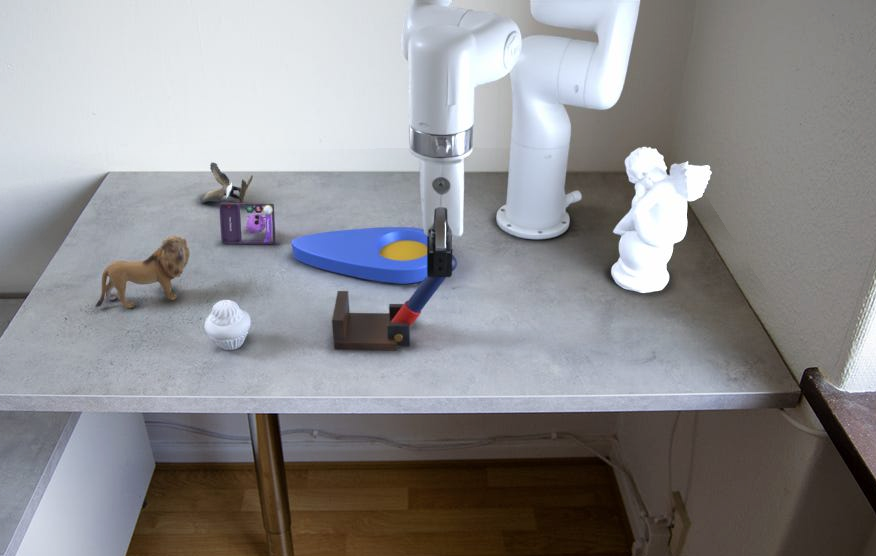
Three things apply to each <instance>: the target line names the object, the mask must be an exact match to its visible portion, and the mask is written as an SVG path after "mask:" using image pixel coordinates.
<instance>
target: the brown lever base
mask: <svg viewBox="0 0 876 556" xmlns="http://www.w3.org/2000/svg"><path fill="white" fill-rule="evenodd" d="M349 296H350V295H349V291H348V290H337V292H336V297H335V302H334V307H333V311H332V312H333V313H332V317H331V325H332V326H331V327H332V338H333V348H334V350H343V351H345V350H346V351H352V350H353V351H397V347H411V346H410V345H411V329H410V328H411V327H410V323H392V319H393V318H394V317H395V315H396V314H397V313H398V311H399V310H400V309H401V307H402V306H403V305H404V303H389V304H388V313H387V312H386V313H385V312H350V297H349Z"/></svg>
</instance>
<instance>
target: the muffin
mask: <svg viewBox="0 0 876 556" xmlns="http://www.w3.org/2000/svg"><path fill="white" fill-rule="evenodd" d="M251 319H252V318H251V316H250V314H249V313H248V312H247V311H246V310H244V309H241V308H240V306H239V304H238V303H237V302H235V301H234V300H231V299H222V300H219V301H217V302H216V303H214V305H213V306H212V309H211V313H210V314H209V315H208V316H207V318H206V319H205V322H204V330H205V333H207V335H208V337H209V338H210V339H211V340H212V341H213V342H214V343H215V344H216V345H217V346H218V347H219V348H221V349H222V350H225V351H234V350H237V349H239V348H240V347H242V346H243V344H244V342H245V341H246V338H247V336H248V334H249V332H250V327H251V324H252V320H251Z"/></svg>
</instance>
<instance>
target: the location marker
mask: <svg viewBox="0 0 876 556" xmlns="http://www.w3.org/2000/svg"><path fill="white" fill-rule="evenodd" d="M291 248H292V255H293V258H294V259H296V260H297V261H298V262H301V263H302V264H305V265H307V266H310V267H313V268H317V269H319V270H320V269H321V270H324V271H327V272H331V273H336V274H340V275H345V276H349V277H353V278H358V279H362V280H368V281H373V282H374V281H375V282H379V283H380V282H381V283H388V284H400V285H401V284H402V285H403V284H414V283H415V284H416V283H421V282H423V280H424V279H425V277H426V276H427V235H425V234H424V228H420V227H414V226H412V227H411V226H384V227H383V226H382V227H381V226H380V227H366V228H365V227H364V228H354V229H341V230H331V231H323V232H316V233H311V234H306V235H301V236H298V237H296V238H293V239H292V241H291Z"/></svg>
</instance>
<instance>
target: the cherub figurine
mask: <svg viewBox="0 0 876 556" xmlns="http://www.w3.org/2000/svg"><path fill="white" fill-rule="evenodd" d="M624 166H625V172H626V175H627V177H628V181H629V182H630V183H632V184H634V190H635V195H634V197H633V198H632V200H631V208H630V209H629V211H628V212H627V213H626V214H625V215H624V216H623V217H622V218H621V219H620V221H619V222H618V223H617V224H615V227H614V229H613V230H612V233H614V234H615V235H618V236H621V237H620V240H619V242H618V252H619V257H618V260H617V261H616V262H615V263H614V264H613V265H612V266H611V269H610V274H611V277H612V279H613V280H614V282H615V283H616V284H617V285H618V286H619V287H621V288H623V289H625V290H629V291H634V292H638V293H641V294H642V293H643V294H646V293H653V292H658V291H662V290H663V289H665V287H666V286H667V284H668V283H669V281H670V274H669V271H668V270H667V264H668V262H669V261H670V260H671V257H672V255H673V250H674V245H675V244H676V243H679V242H682V240H683V239H684V237H685V236H686V233H687V228H688V218H687V217H688V216H687V213H688V202H693V201H696V200H698V199H699V198H702V197H703V193H705V189H707V185H708V184H709V182H708V181H710V179H711V175H712V173H713V172H712V171H711V170H710V169H711V167H710V165H708V164H707V165H706V164H705V165H694V164H689V161H686V162H681V163H677V162H676V163H675V162H674V163H673V164H671V165H670V168H669V174H668V173H667V172H668V171H667V169H668V167H667V166H666V163H665V161H664V155H663V154H661V153H659V152H658V150H657V148H651V146H649V147H647V146H642V147H637V148H636V149H634V150H633V151H630V153H629V155H628V156H626V158H625V160H624Z"/></svg>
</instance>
